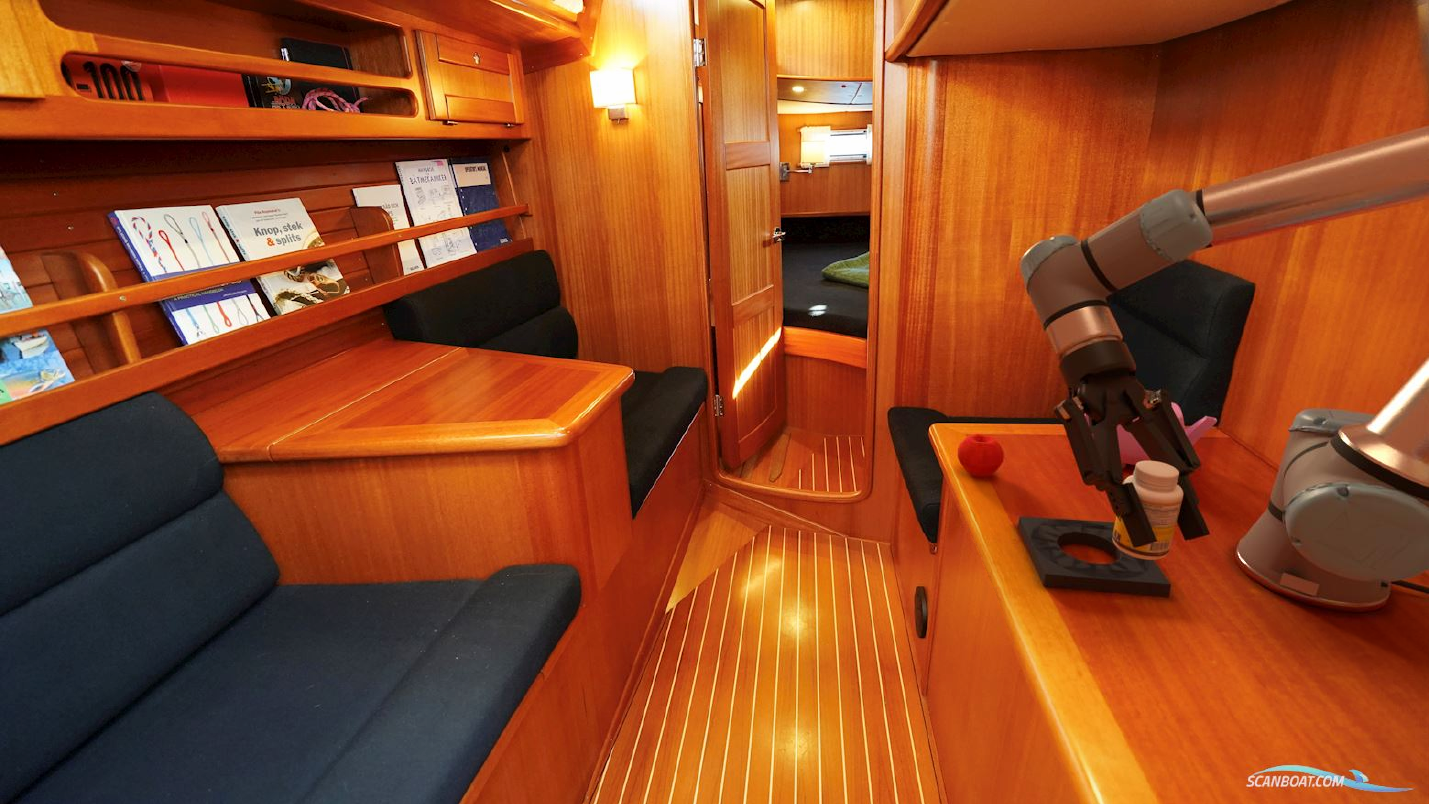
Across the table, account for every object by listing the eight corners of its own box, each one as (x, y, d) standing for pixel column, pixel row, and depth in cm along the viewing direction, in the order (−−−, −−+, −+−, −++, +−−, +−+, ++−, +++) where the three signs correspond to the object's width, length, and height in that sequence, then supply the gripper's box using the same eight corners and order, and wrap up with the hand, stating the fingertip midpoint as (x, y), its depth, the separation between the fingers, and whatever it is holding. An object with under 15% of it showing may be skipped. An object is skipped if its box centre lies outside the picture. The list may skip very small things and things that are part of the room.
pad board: (1124, 534, 96) (1126, 522, 96) (1168, 597, 83) (1172, 584, 82) (1017, 527, 100) (1019, 516, 99) (1043, 586, 86) (1045, 574, 85)
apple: (948, 464, 120) (952, 428, 118) (991, 463, 120) (996, 427, 117) (962, 484, 113) (966, 446, 110) (1008, 483, 113) (1013, 445, 110)
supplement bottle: (1119, 529, 77) (1135, 452, 73) (1174, 547, 73) (1194, 466, 69) (1103, 548, 73) (1120, 468, 69) (1160, 568, 69) (1181, 485, 66)
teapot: (1076, 465, 118) (1087, 401, 113) (1076, 440, 128) (1086, 380, 124) (1209, 486, 109) (1227, 417, 104) (1198, 457, 119) (1214, 393, 115)
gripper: (1137, 360, 82) (1220, 538, 73) (1004, 373, 80) (1071, 558, 71) (1180, 330, 76) (1277, 522, 66) (1036, 343, 73) (1116, 544, 64)
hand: (1171, 540), depth 68 cm, fingers closed on supplement bottle, 6 cm apart
